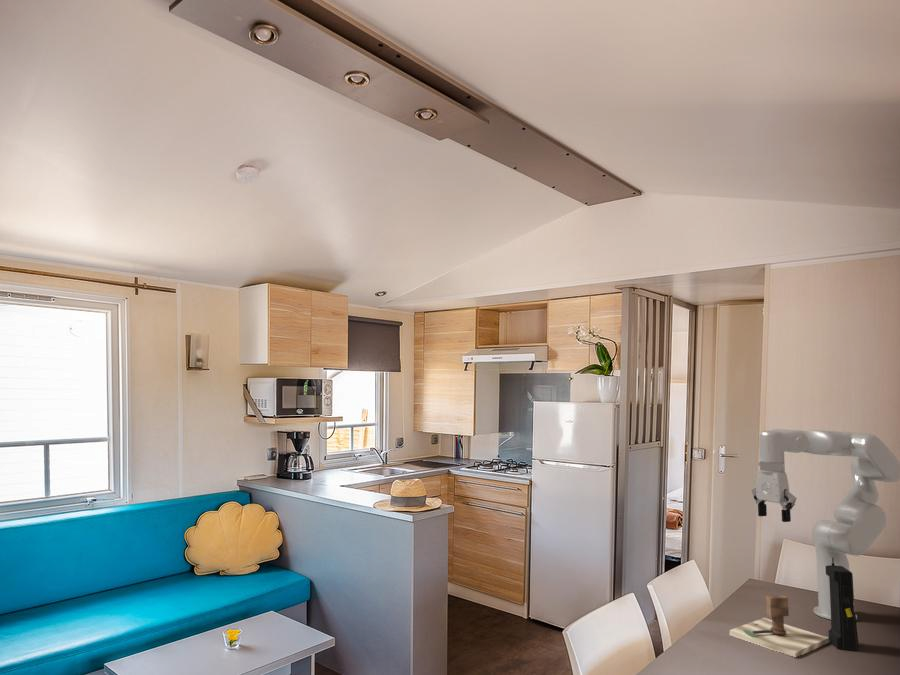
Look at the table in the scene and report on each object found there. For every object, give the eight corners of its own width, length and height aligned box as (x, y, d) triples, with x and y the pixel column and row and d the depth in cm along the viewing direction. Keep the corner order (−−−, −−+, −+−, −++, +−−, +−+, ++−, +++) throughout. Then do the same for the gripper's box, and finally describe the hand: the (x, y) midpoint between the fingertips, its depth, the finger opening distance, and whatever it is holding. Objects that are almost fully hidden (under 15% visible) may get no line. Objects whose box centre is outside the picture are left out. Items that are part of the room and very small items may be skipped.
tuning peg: (782, 629, 192) (780, 594, 193) (792, 635, 188) (790, 598, 189) (748, 631, 190) (747, 595, 191) (758, 637, 186) (756, 600, 187)
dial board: (764, 622, 203) (763, 617, 204) (828, 642, 187) (828, 637, 187) (729, 635, 192) (729, 629, 192) (795, 658, 176) (795, 651, 176)
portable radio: (861, 652, 180) (857, 564, 182) (839, 651, 181) (835, 563, 183) (850, 642, 187) (846, 558, 190) (828, 640, 189) (824, 556, 191)
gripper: (743, 464, 216) (745, 514, 214) (785, 470, 200) (787, 524, 198) (760, 464, 219) (762, 513, 217) (802, 470, 202) (804, 523, 201)
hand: (774, 518), depth 208 cm, fingers open, 9 cm apart
